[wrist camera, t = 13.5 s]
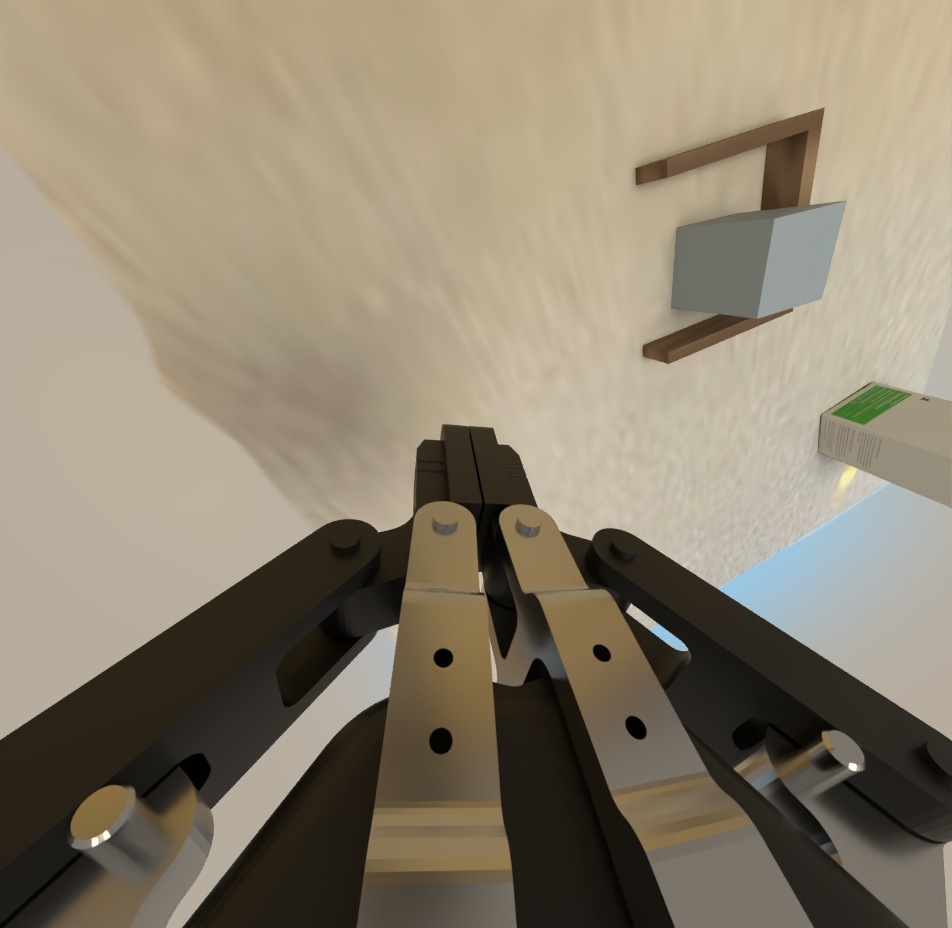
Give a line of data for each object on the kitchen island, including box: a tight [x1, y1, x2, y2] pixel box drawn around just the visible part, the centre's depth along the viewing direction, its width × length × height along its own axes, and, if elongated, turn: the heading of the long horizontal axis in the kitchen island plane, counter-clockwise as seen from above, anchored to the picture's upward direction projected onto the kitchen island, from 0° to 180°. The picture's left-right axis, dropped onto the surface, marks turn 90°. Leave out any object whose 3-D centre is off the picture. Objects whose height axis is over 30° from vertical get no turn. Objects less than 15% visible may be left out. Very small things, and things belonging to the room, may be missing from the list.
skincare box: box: [818, 383, 952, 508], centre depth 43 cm, size 8×7×16 cm
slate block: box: [671, 201, 846, 319], centre depth 30 cm, size 6×6×8 cm
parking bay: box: [636, 107, 825, 364], centre depth 31 cm, size 14×13×3 cm
